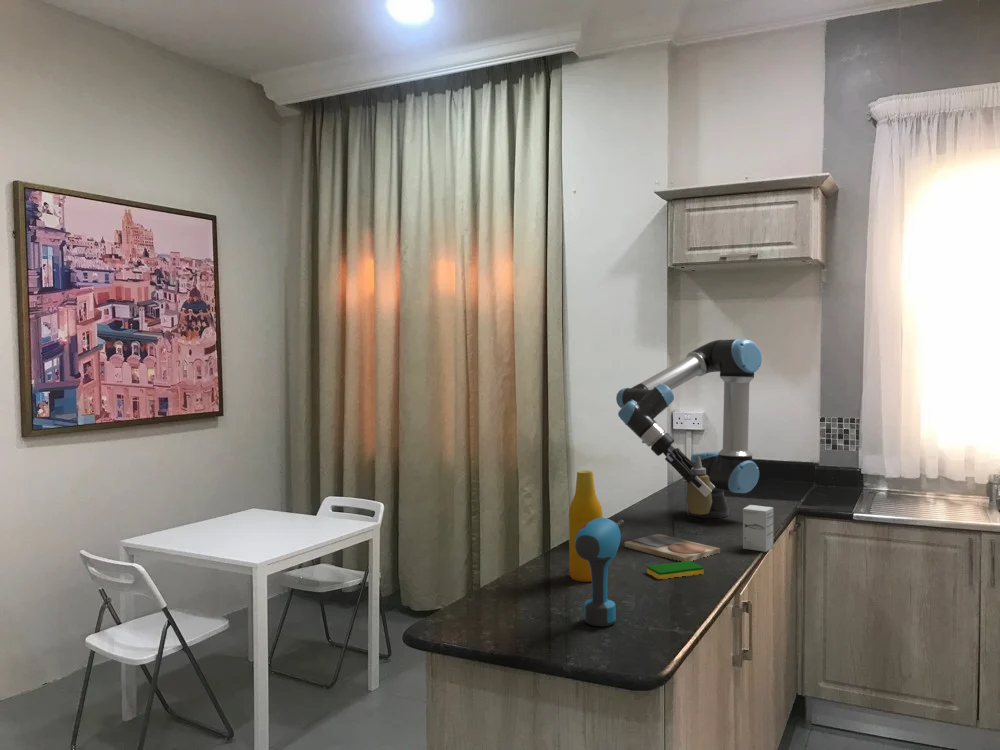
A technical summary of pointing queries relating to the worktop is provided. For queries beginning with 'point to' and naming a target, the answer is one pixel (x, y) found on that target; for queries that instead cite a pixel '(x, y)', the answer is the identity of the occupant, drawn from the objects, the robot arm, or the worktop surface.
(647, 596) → the worktop surface
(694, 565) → the dish sponge
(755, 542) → the supplement box
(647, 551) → the board
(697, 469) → the squeeze bottle
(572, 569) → the beer bottle
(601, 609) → the power drill
